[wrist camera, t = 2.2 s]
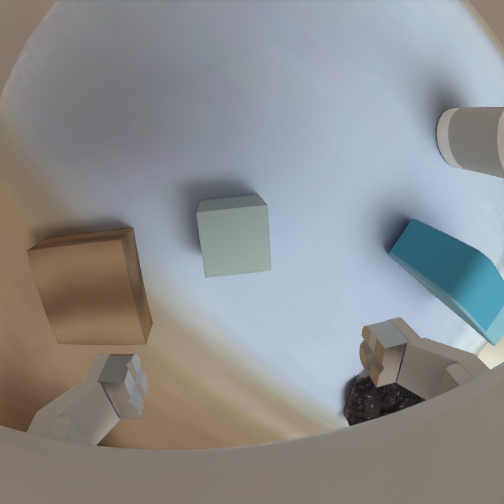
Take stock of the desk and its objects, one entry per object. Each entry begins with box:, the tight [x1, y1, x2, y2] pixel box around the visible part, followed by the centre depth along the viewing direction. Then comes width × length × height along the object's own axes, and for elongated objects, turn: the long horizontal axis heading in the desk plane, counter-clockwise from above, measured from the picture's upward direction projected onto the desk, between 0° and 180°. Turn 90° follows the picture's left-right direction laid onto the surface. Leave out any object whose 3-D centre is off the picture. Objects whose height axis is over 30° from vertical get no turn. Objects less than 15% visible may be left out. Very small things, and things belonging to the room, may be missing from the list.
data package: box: [389, 219, 504, 346], centre depth 24 cm, size 12×4×12 cm, turn 56°
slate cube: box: [196, 195, 271, 278], centre depth 24 cm, size 5×5×5 cm
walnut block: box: [27, 228, 152, 345], centre depth 25 cm, size 10×10×4 cm
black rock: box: [344, 369, 426, 426], centre depth 32 cm, size 13×14×10 cm
